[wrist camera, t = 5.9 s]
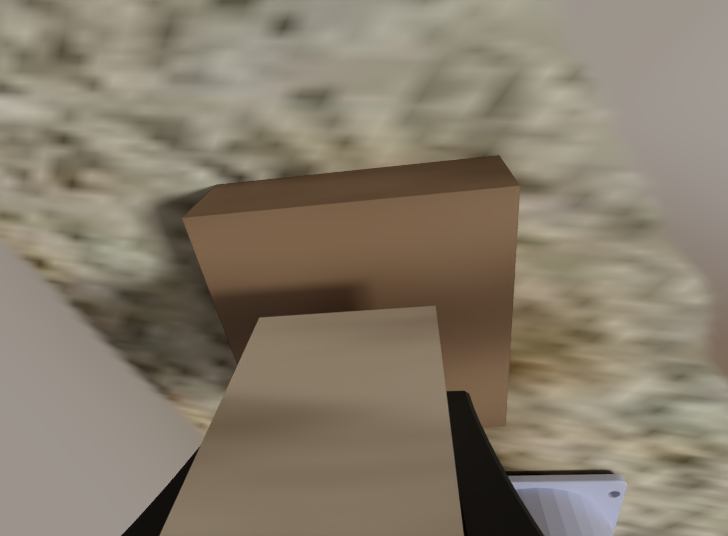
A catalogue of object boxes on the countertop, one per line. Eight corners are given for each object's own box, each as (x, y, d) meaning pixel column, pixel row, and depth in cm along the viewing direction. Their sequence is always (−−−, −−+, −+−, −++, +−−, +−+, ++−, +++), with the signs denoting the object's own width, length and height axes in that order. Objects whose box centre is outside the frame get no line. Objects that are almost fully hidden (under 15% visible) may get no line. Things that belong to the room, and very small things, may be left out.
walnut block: (490, 365, 18) (505, 426, 15) (281, 375, 19) (263, 432, 16) (496, 151, 13) (519, 186, 11) (220, 180, 14) (181, 217, 12)
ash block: (443, 428, 13) (473, 712, 8) (296, 432, 13) (232, 698, 8) (435, 305, 10) (470, 592, 5) (259, 317, 11) (136, 585, 6)
